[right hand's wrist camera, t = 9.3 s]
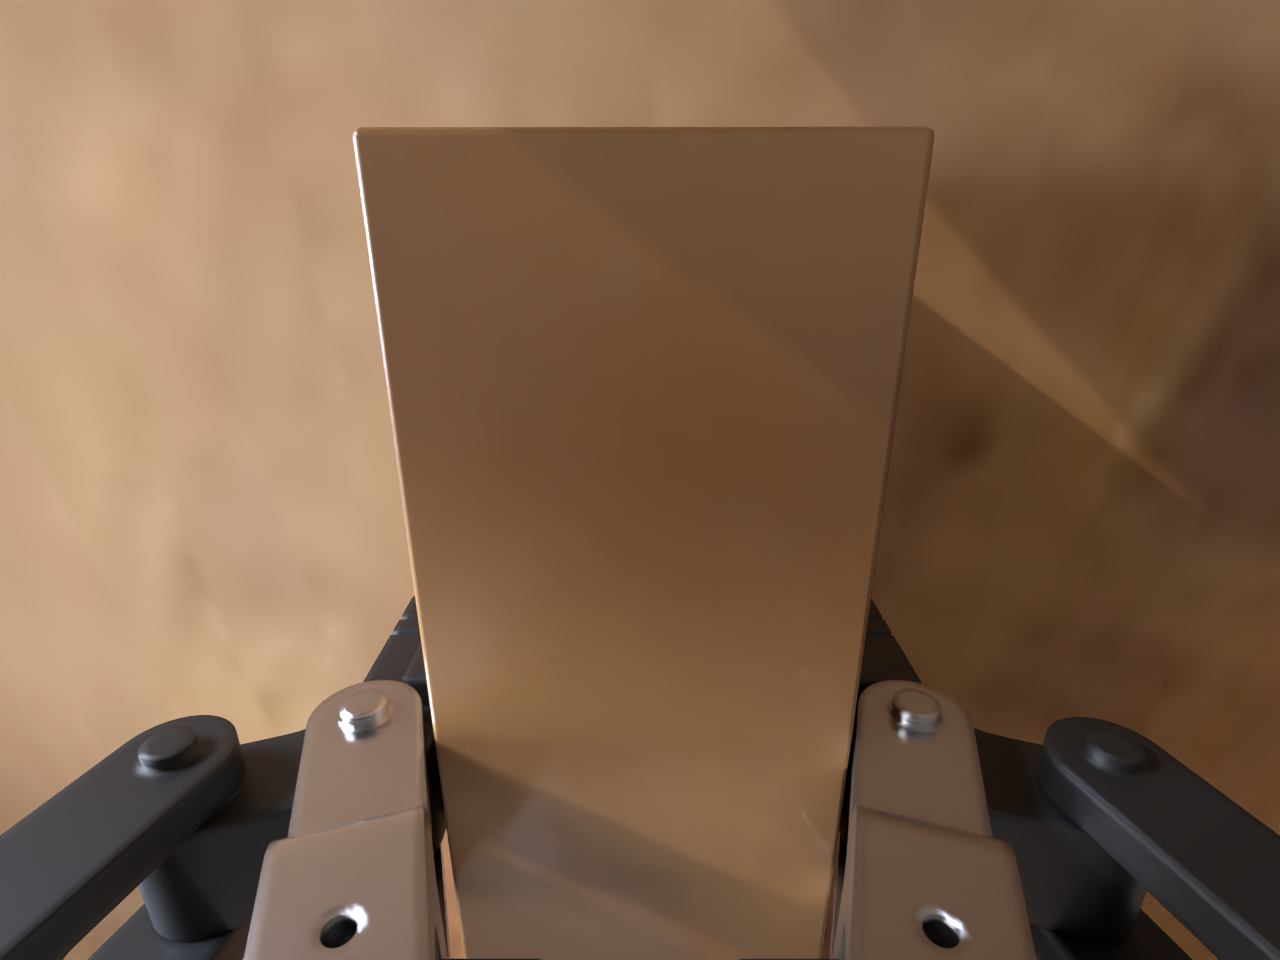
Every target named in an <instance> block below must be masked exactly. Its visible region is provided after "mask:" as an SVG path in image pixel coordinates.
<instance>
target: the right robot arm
mask: <svg viewBox="0 0 1280 960" xmlns="http://www.w3.org/2000/svg"><path fill="white" fill-rule="evenodd" d="M445 830H446V820H445V812H444V805H443V798H442V790H441V783H440V775H439V768H438V761H437V753H436V746H435V739H434V731H433V724H432V717H431V709H430V702H429V695H428V687H427V680H426V673H425V665H424V658H423V651H422V643H421V636H420V629H419V621H418V614H417V607H416V599H415V596H414V597H413V598H412V599H411V601H410V603H409V604H408V606H407V608H406V610H405V611H404V613H403V615H402V620H399V622H398V623H397V625H396V627H395V628H394V630H393V635H390V637H389V639H388V640H387V642H386V644H385V646H384V647H383V649H382V651H381V652H380V654H379V656H378V658H377V659H376V661H375V663H374V664H373V666H372V668H371V670H370V671H369V673H368V675H367V676H366V678H365V680H364V682H363V683H359V684H356V685H353V686H350V687H347V688H345V689H342V690H340V691H338V692H336V693H335V694H333V695H331V696H330V697H328V698H327V699H326V700H324V701H323V702H322V703H321V704H320V705H318V706H317V708H316V709H315V710H314V711H313V712H312V714H311V716H310V717H309V719H308V722H307V726H306V729H304V730H302V731H299V732H295V733H291V734H287V735H283V736H278V737H274V738H269V739H264V740H260V741H255V742H251V743H246V744H242V745H240V743H239V739H238V735H237V732H236V729H235V727H234V725H233V724H232V723H231V722H230V721H228V720H226V719H224V718H221V717H218V716H211V715H198V716H189V717H184V718H179V719H175V720H172V721H168V722H166V723H163V724H160V725H158V726H155V727H153V728H151V729H149V730H147V731H145V732H143V733H141V734H139V735H137V736H136V737H134V738H133V739H131V740H130V741H128V742H127V743H125V744H124V745H122V746H121V747H120V748H118V749H117V750H116V751H114V752H113V753H112V754H110V755H109V756H108V757H106V758H105V759H103V760H102V761H101V762H99V763H98V764H97V765H95V766H94V767H93V768H91V769H90V770H89V771H87V772H86V773H85V774H83V775H82V776H80V777H79V778H78V779H76V780H75V781H74V782H72V783H71V784H70V785H68V786H67V787H66V788H64V789H63V790H62V791H60V792H59V793H57V794H56V795H55V796H53V797H52V798H51V799H49V800H48V801H47V802H45V803H44V804H43V805H41V806H40V807H39V808H37V809H36V810H34V811H33V812H32V813H30V814H29V815H28V816H26V817H25V818H24V819H22V820H21V821H20V822H18V823H17V824H16V825H14V826H13V827H11V828H10V829H9V830H7V831H6V832H5V833H3V834H2V835H1V836H0V960H63V958H64V957H65V956H66V955H67V953H68V952H69V951H70V950H71V949H72V948H73V947H74V946H75V945H76V944H77V943H78V942H79V941H81V940H82V939H83V938H84V937H85V936H86V935H87V934H88V933H89V932H90V931H91V930H92V929H93V928H94V927H95V926H96V925H97V924H98V923H99V922H100V921H102V920H103V919H104V918H105V917H106V916H107V915H108V914H109V913H110V912H111V911H112V910H113V909H114V908H115V907H116V906H117V905H118V904H119V903H120V902H121V901H123V900H124V899H125V898H126V897H127V896H128V895H129V894H130V893H131V892H132V891H133V890H134V889H135V888H136V887H137V886H138V885H139V888H140V891H141V894H142V896H143V899H144V902H145V904H144V905H143V906H142V907H141V908H140V909H139V910H138V911H137V912H136V913H135V914H134V915H132V916H131V917H130V918H129V919H128V920H127V921H126V922H125V923H124V924H123V925H122V926H121V927H120V928H119V929H118V930H117V931H116V932H115V933H114V934H113V935H112V936H111V937H110V938H109V939H108V940H107V941H106V942H105V943H104V944H103V945H102V946H101V947H100V948H99V949H98V950H97V951H96V952H95V953H94V954H93V955H92V956H91V957H90V958H89V959H88V960H242V959H243V958H244V959H243V960H541V959H451V956H450V942H449V929H448V916H447V902H446V889H445V875H444V862H443V853H442V846H441V842H442V840H443V836H444V833H445ZM839 831H840V838H839V845H838V852H837V861H836V874H835V888H834V901H833V915H832V928H831V942H830V955H829V959H739V960H1037V959H1038V960H1192V959H1191V958H1190V957H1189V956H1188V955H1187V954H1186V953H1185V952H1184V951H1183V950H1182V949H1181V948H1180V947H1179V946H1178V945H1177V944H1176V943H1175V942H1174V941H1173V940H1172V939H1171V938H1170V937H1169V936H1168V935H1167V934H1166V933H1165V932H1164V931H1163V930H1162V929H1161V928H1160V927H1159V926H1158V925H1157V924H1156V923H1155V922H1154V921H1153V920H1152V919H1151V918H1150V917H1149V916H1148V915H1147V914H1145V913H1144V912H1143V911H1142V910H1141V909H1140V908H1141V905H1142V902H1143V900H1144V897H1145V894H1146V891H1148V892H1149V893H1150V894H1151V895H1152V896H1153V897H1154V898H1155V899H1156V900H1158V901H1159V902H1160V903H1161V904H1162V905H1163V906H1164V907H1165V908H1166V909H1167V910H1168V911H1169V912H1170V913H1171V914H1172V915H1173V916H1174V917H1175V918H1176V919H1177V920H1178V921H1180V922H1181V923H1182V924H1183V925H1184V926H1185V927H1186V928H1187V929H1188V930H1189V931H1190V932H1191V933H1192V934H1193V935H1194V936H1195V937H1196V938H1197V939H1198V940H1199V941H1201V942H1202V943H1203V944H1204V945H1205V946H1206V947H1207V948H1208V949H1209V950H1210V951H1211V952H1212V953H1213V954H1214V955H1215V956H1216V957H1217V958H1218V960H1280V836H1279V835H1278V834H1277V833H1275V832H1274V831H1273V830H1271V829H1270V828H1269V827H1267V826H1266V825H1265V824H1263V823H1262V822H1260V821H1259V820H1258V819H1256V818H1255V817H1254V816H1252V815H1251V814H1250V813H1248V812H1247V811H1246V810H1244V809H1243V808H1241V807H1240V806H1239V805H1237V804H1236V803H1235V802H1233V801H1232V800H1231V799H1229V798H1228V797H1227V796H1225V795H1224V794H1223V793H1221V792H1220V791H1218V790H1217V789H1216V788H1214V787H1213V786H1212V785H1210V784H1209V783H1208V782H1206V781H1205V780H1204V779H1202V778H1201V777H1200V776H1198V775H1197V774H1195V773H1194V772H1193V771H1191V770H1190V769H1189V768H1187V767H1186V766H1185V765H1183V764H1182V763H1181V762H1179V761H1178V760H1177V759H1175V758H1174V757H1172V756H1171V755H1170V754H1168V753H1167V752H1166V751H1164V750H1163V749H1162V748H1160V747H1159V746H1158V745H1156V744H1155V743H1153V742H1152V741H1150V740H1149V739H1147V738H1145V737H1143V736H1142V735H1140V734H1138V733H1136V732H1134V731H1132V730H1130V729H1127V728H1125V727H1122V726H1120V725H1117V724H1114V723H1111V722H1107V721H1104V720H1099V719H1094V718H1085V717H1071V718H1064V719H1061V720H1058V721H1056V722H1055V723H1053V724H1052V725H1051V726H1050V727H1049V728H1048V730H1047V732H1046V736H1045V739H1044V743H1043V745H1039V744H1035V743H1030V742H1025V741H1021V740H1016V739H1012V738H1007V737H1003V736H998V735H994V734H990V733H987V732H984V731H981V730H978V729H975V728H974V726H973V723H972V719H971V718H970V716H969V714H968V712H967V711H966V710H965V709H964V708H963V706H961V705H960V704H959V703H958V702H957V701H956V700H954V699H953V698H952V697H950V696H949V695H947V694H945V693H943V692H942V691H940V690H938V689H935V688H933V687H930V686H927V685H924V684H922V683H921V681H920V679H919V678H918V676H917V674H916V673H915V671H914V669H913V668H912V666H911V664H910V663H909V661H908V659H907V658H906V656H905V654H904V652H903V651H902V649H901V647H900V646H899V644H898V642H897V641H896V639H895V637H894V636H892V635H891V631H890V629H889V627H888V625H887V624H886V622H885V620H882V615H881V614H880V612H879V610H878V609H877V607H876V605H875V604H874V602H873V600H872V599H871V601H870V608H869V615H868V623H867V630H866V637H865V645H864V652H863V659H862V666H861V674H860V681H859V688H858V696H857V703H856V710H855V717H854V725H853V732H852V739H851V747H850V754H849V761H848V768H847V776H846V783H845V790H844V798H843V805H842V812H841V819H840V827H839ZM1036 958H1037V959H1036Z"/></svg>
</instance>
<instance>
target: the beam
mask: <svg viewBox="0 0 1280 960" xmlns="http://www.w3.org/2000/svg"><path fill="white" fill-rule="evenodd" d="M933 142H934V133H933V130H932V129H930V128H928V127H360V128H358V129H356V130H354V132H353V145H354V152H355V159H356V167H357V174H358V181H359V189H360V196H361V203H362V211H363V218H364V225H365V233H366V240H367V247H368V255H369V262H370V269H371V277H372V284H373V291H374V299H375V306H376V313H377V321H378V328H379V335H380V343H381V350H382V357H383V365H384V372H385V379H386V387H387V394H388V401H389V409H390V416H391V423H392V431H393V438H394V445H395V453H396V460H397V467H398V475H399V482H400V489H401V497H402V504H403V511H404V519H405V526H406V533H407V541H408V548H409V555H410V563H411V570H412V577H413V585H414V592H415V599H416V607H417V614H418V621H419V629H420V636H421V643H422V651H423V658H424V665H425V673H426V680H427V687H428V695H429V702H430V709H431V717H432V724H433V731H434V739H435V746H436V753H437V761H438V768H439V775H440V783H441V790H442V798H443V805H444V812H445V820H446V827H447V834H448V842H449V849H450V856H451V864H452V871H453V878H454V886H455V893H456V900H457V908H458V915H459V922H460V930H461V937H462V944H463V952H464V959H541V960H739V959H821V958H822V950H823V943H824V936H825V929H826V921H827V914H828V907H829V899H830V892H831V885H832V878H833V870H834V863H835V856H836V848H837V841H838V834H839V827H840V819H841V812H842V805H843V798H844V790H845V783H846V776H847V768H848V761H849V754H850V747H851V739H852V732H853V725H854V717H855V710H856V703H857V696H858V688H859V681H860V674H861V666H862V659H863V652H864V645H865V637H866V630H867V623H868V615H869V608H870V601H871V594H872V586H873V579H874V572H875V565H876V557H877V550H878V543H879V535H880V528H881V521H882V514H883V506H884V499H885V492H886V484H887V477H888V470H889V463H890V455H891V448H892V441H893V433H894V426H895V419H896V412H897V404H898V397H899V390H900V382H901V375H902V368H903V361H904V353H905V346H906V339H907V332H908V324H909V317H910V310H911V302H912V295H913V288H914V281H915V273H916V266H917V259H918V251H919V244H920V237H921V230H922V222H923V215H924V208H925V200H926V193H927V186H928V179H929V171H930V164H931V157H932V150H933Z"/></svg>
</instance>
